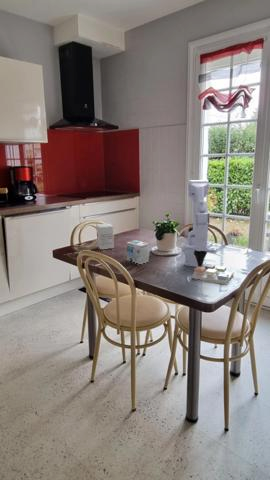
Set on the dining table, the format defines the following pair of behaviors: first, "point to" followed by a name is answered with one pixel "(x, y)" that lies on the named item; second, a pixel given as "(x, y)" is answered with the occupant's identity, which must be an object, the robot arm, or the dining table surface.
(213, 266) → the grey key
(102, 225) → the supplement box
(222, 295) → the dining table surface
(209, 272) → the cream key
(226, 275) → the slate blue key
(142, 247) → the light bulb box
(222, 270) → the sage key
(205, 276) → the light grey tray
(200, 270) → the terracotta key
